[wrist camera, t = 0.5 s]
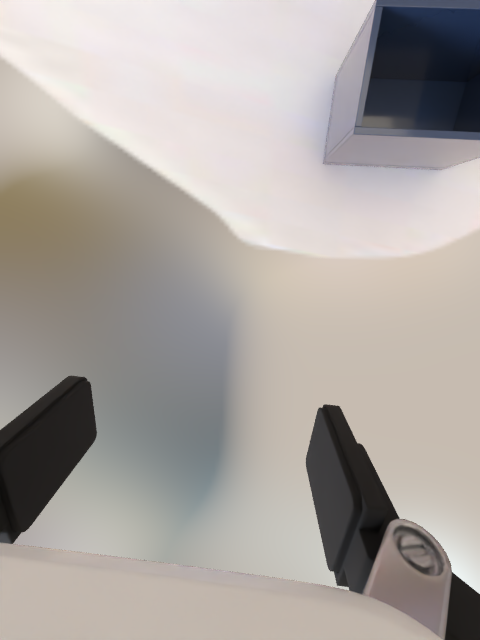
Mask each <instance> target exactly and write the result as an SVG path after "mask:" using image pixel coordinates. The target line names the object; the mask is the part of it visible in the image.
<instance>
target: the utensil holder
mask: <svg viewBox="0 0 480 640" xmlns="http://www.w3.org/2000/svg"><path fill="white" fill-rule="evenodd" d="M476 158H480V0H375V2H374V4H373V6H372V8H371V9H370V11H369V13H368V15H367V17H366V19H365V21H364V23H363V25H362V27H361V29H360V30H359V32H358V34H357V36H356V38H355V40H354V42H353V44H352V46H351V48H350V50H349V52H348V53H347V55H346V57H345V59H344V61H343V63H342V65H341V67H340V69H339V71H338V73H337V75H336V78H335V85H334V92H333V99H332V106H331V113H330V120H329V127H328V133H327V140H326V147H325V154H324V161H323V164H335V165H355V166H374V167H394V168H414V169H434V170H442V169H446V168H449V167H452V166H455V165H458V164H461V163H464V162H467V161H470V160H473V159H476Z"/></svg>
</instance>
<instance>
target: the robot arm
mask: <svg viewBox="0 0 480 640" xmlns="http://www.w3.org/2000/svg"><path fill="white" fill-rule="evenodd" d="M96 434H97V431H96V423H95V415H94V407H93V399H92V391H91V384H90V382H88V381H87V379H86V378H85V377H77V376H68V377H67V378H65V379H64V380H63V381H62V382H60V383H59V384H58V385H57V386H55V387H54V388H53V389H52V390H50V391H49V392H48V393H47V394H45V395H44V396H43V397H42V398H40V399H39V400H38V401H36V402H35V403H34V404H33V405H31V406H30V407H29V408H28V409H26V410H25V411H24V412H23V413H21V414H20V415H19V416H18V417H16V418H15V419H14V420H13V421H11V422H10V423H9V424H7V425H6V426H5V427H4V428H2V429H1V430H0V640H480V594H479V593H477V592H476V591H475V590H474V589H472V588H471V587H470V586H469V585H467V584H466V583H465V582H463V581H462V580H461V579H460V578H459V577H457V576H456V575H455V574H454V573H452V570H451V563H450V561H449V559H448V556H447V554H446V552H445V551H444V549H443V548H442V546H441V545H440V544H439V542H438V541H437V540H436V539H435V538H434V537H433V536H432V535H431V534H430V533H429V532H427V531H426V530H425V529H424V528H423V527H421V526H419V525H417V524H416V523H414V522H411V521H408V520H405V519H399V517H398V515H397V513H396V511H395V509H394V507H393V504H392V502H391V501H390V499H389V497H388V495H387V493H386V490H385V488H384V486H383V485H382V482H381V481H380V478H379V476H378V474H377V472H376V470H375V468H374V466H373V464H372V462H371V460H370V458H369V456H368V454H367V452H366V450H365V448H364V447H363V445H361V444H358V443H357V442H356V440H355V438H354V436H353V434H352V431H351V429H350V427H349V425H348V423H347V421H346V419H345V417H344V415H343V412H342V410H341V408H340V407H339V406H333V405H323V408H319V409H318V411H317V415H316V419H315V424H314V428H313V432H312V436H311V440H310V445H309V448H308V452H307V457H306V467H307V472H308V477H309V482H310V487H311V491H312V496H313V501H314V505H315V510H316V514H317V519H318V524H319V529H320V533H321V538H322V542H323V547H324V552H325V556H326V561H327V565H328V568H329V570H330V571H334V574H335V578H336V583H337V585H338V586H345V587H349V590H350V591H348V590H344V589H339V588H334V587H329V586H325V585H320V584H313V583H307V582H300V581H294V580H287V579H280V578H275V577H268V576H260V575H253V574H245V573H238V572H231V571H223V570H215V569H208V568H201V567H193V566H185V565H178V564H170V563H162V562H154V561H147V560H138V559H131V558H122V557H115V556H107V555H99V554H91V553H82V552H75V551H66V550H57V549H50V548H42V547H33V546H25V545H16V544H13V543H14V541H15V540H16V539H17V538H18V536H19V535H20V534H21V532H25V531H26V530H27V529H28V528H29V527H30V526H31V525H32V523H33V522H34V521H35V519H36V518H37V517H38V516H39V514H40V513H41V512H42V510H43V509H44V508H45V506H46V505H47V504H48V502H49V501H50V500H51V498H52V497H53V496H54V494H55V493H56V492H57V490H58V489H59V488H60V486H61V485H62V484H63V482H64V481H65V479H66V478H67V477H68V476H69V474H70V473H71V471H72V470H73V469H74V468H75V466H76V465H77V463H78V462H79V461H80V460H81V458H82V457H83V456H84V454H85V453H86V452H87V450H88V449H89V448H90V446H91V445H92V444H93V442H94V441H95V438H96Z"/></svg>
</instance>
